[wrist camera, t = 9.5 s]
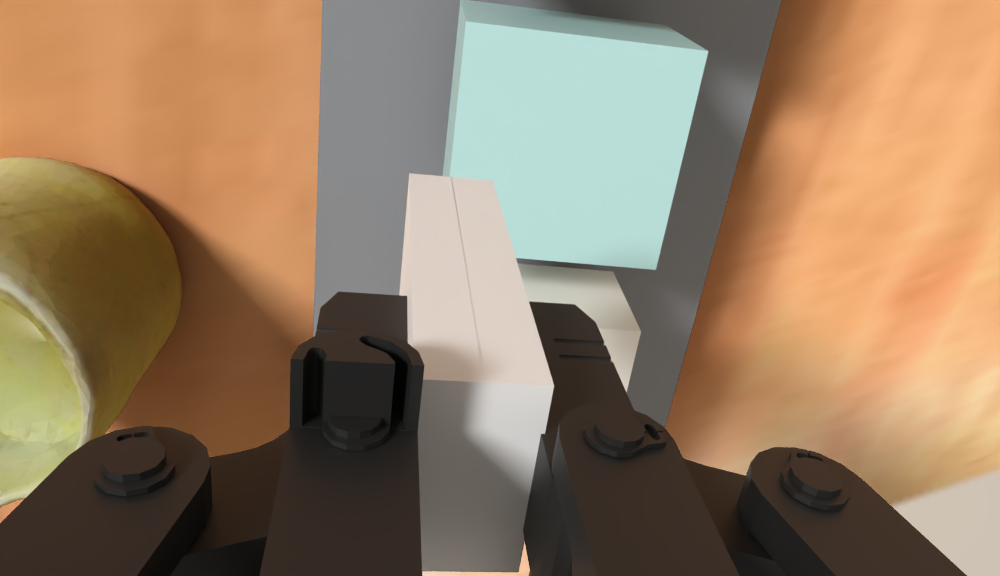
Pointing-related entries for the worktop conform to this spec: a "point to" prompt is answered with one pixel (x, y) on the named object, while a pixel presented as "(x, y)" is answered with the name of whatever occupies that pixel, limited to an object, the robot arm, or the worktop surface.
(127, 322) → the mug
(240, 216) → the worktop surface
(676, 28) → the console
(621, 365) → the ivory key
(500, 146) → the teal key
